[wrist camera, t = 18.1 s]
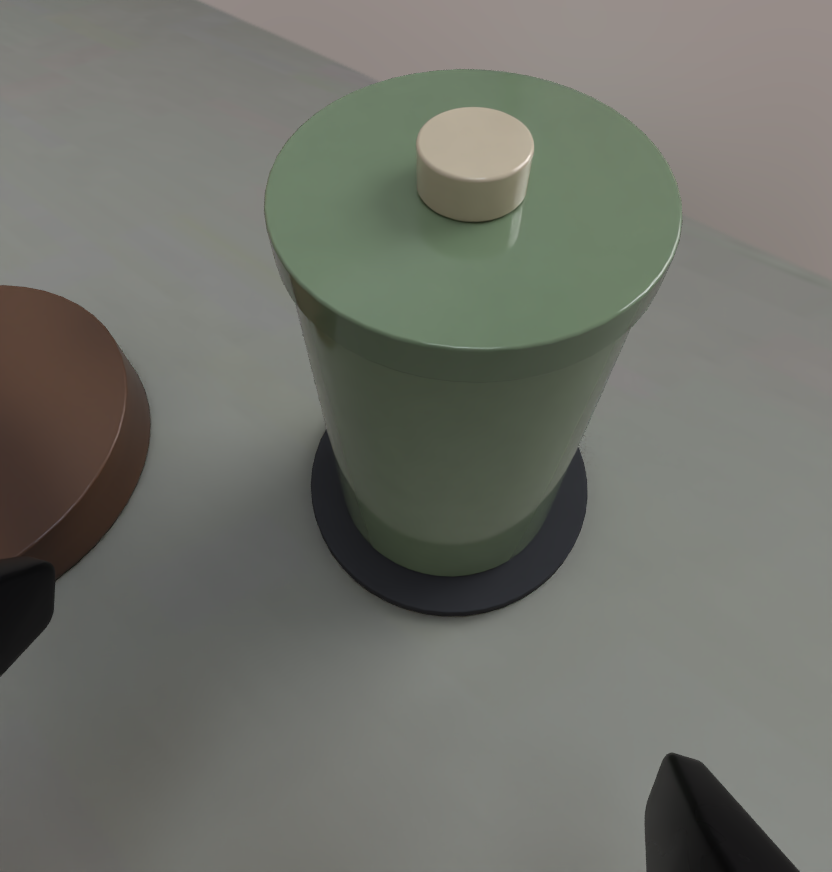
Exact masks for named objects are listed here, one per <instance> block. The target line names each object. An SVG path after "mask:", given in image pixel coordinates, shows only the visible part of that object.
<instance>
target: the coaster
mask: <svg viewBox="0 0 832 872" xmlns="http://www.w3.org/2000/svg"><path fill="white" fill-rule="evenodd" d="M311 494H312V504H313V509H314V513H315V518H316V521H317V523H318V526H319V529H320V531H321V534H322V537H323V539H324V541H325V543H326V544H327V546H328V548H329V550H330V552H331V553H332V555H333V556H334V557H335V559H336V560H337V561H338V563H339V564H340V565H341V567H342V568H343V569H344V570H345V571H346V572H347V573H348V574H349V575H350V576H351V577H352V578H353V579H354V580H355V581H356V582H358V583H359V584H360V585H362V586H363V587H364V588H366V589H367V590H368V591H370V592H371V593H373V594H375V595H376V596H378V597H380V598H382V599H384V600H385V601H387V602H389V603H392V604H395V605H397V606H400V607H402V608H405V609H408V610H412V611H416V612H420V613H424V614H431V615H440V616H466V615H472V614H479V613H485V612H488V611H492V610H495V609H498V608H502V607H504V606H507V605H509V604H511V603H513V602H516V601H518V600H520V599H522V598H523V597H525V596H527V595H528V594H530V593H531V592H533V591H534V590H536V589H537V588H538V587H540V586H541V585H542V584H543V583H544V582H546V581H547V580H548V579H549V578H550V577H551V576H552V575H553V574H554V573H555V572H556V570H557V569H558V568H559V567H560V566H561V565H562V563H563V562H564V560H565V559H566V557H567V556H568V554H569V553H570V551H571V549H572V548H573V546H574V544H575V542H576V540H577V537H578V535H579V533H580V531H581V528H582V524H583V520H584V517H585V513H586V504H587V478H586V472H585V466H584V462H583V459H582V456H581V453H580V450H579V448H577V450H576V453H575V455H574V457H573V459H572V462H571V464H570V466H569V468H568V471H567V473H566V475H565V477H564V480H563V482H562V484H561V486H560V489H559V491H558V493H557V495H556V498H555V500H554V502H553V504H552V507H551V509H550V511H549V513H548V516H547V518H546V520H545V522H544V524H543V525H542V527H541V529H540V531H539V532H538V534H537V535H536V536H535V537H534V539H533V540H532V541H531V543H530V544H528V545H527V546H526V547H525V548H524V549H523V550H522V551H521V552H520V553H519V554H517V555H516V556H514V557H513V558H512V559H510V560H509V561H507V562H505V563H503V564H501V565H499V566H497V567H495V568H492V569H489V570H487V571H484V572H480V573H476V574H471V575H465V576H454V577H452V576H435V575H429V574H423V573H420V572H417V571H413V570H410V569H407V568H405V567H403V566H401V565H399V564H396V563H394V562H393V561H391V560H390V559H388V558H386V557H385V556H383V555H382V554H381V553H379V552H378V551H377V550H376V549H375V548H373V547H372V546H371V545H370V544H369V543H368V542H367V540H366V539H365V538H364V537H363V536H362V535H361V533H360V532H359V530H358V529H357V528H356V526H355V525H354V523H353V521H352V519H351V517H350V515H349V512H348V510H347V507H346V504H345V500H344V496H343V492H342V488H341V484H340V481H339V477H338V473H337V469H336V465H335V461H334V457H333V453H332V449H331V445H330V441H329V437H328V433H327V429H326V431H325V433H324V435H323V437H322V438H321V441H320V443H319V446H318V449H317V451H316V454H315V459H314V463H313V468H312V478H311Z"/></svg>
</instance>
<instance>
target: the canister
mask: <svg viewBox="0 0 832 872" xmlns="http://www.w3.org/2000/svg"><path fill="white" fill-rule="evenodd" d="M264 215H265V222H266V229H267V233H268V237H269V240H270V244H271V248H272V252H273V255H274V259H275V263H276V266H277V268H278V271H279V274H280V277H281V280H282V282H283V284H284V286H285V288H286V289H287V291H288V293H289V295H290V296H291V298H292V300H293V301H294V302H295V305H296V309H297V313H298V317H299V321H300V325H301V329H302V333H303V337H304V341H305V345H306V349H307V353H308V357H309V361H310V365H311V369H312V373H313V377H314V381H315V385H316V389H317V393H318V397H319V401H320V405H321V409H322V413H323V417H324V421H325V425H326V429H327V433H328V437H329V441H330V445H331V449H332V453H333V457H334V461H335V465H336V469H337V473H338V477H339V481H340V484H341V488H342V492H343V496H344V500H345V504H346V507H347V510H348V512H349V515H350V517H351V519H352V521H353V523H354V525H355V526H356V528H357V529H358V530H359V532H360V533H361V535H362V536H363V537H364V538H365V539H366V540H367V542H368V543H369V544H370V545H371V546H372V547H373V548H375V549H376V550H377V551H378V552H379V553H381V554H382V555H383V556H385V557H386V558H388V559H390V560H391V561H393V562H394V563H396V564H399V565H401V566H403V567H405V568H407V569H410V570H413V571H417V572H420V573H423V574H429V575H435V576H452V577H454V576H465V575H471V574H476V573H480V572H484V571H487V570H489V569H492V568H495V567H497V566H499V565H501V564H503V563H505V562H507V561H509V560H510V559H512V558H513V557H514V556H516V555H517V554H519V553H520V552H521V551H522V550H523V549H524V548H525V547H526V546H527V545H528V544H530V543H531V541H532V540H533V539H534V537H535V536H536V535H537V534H538V532H539V531H540V529H541V527H542V525H543V524H544V522H545V520H546V518H547V516H548V513H549V511H550V509H551V507H552V504H553V502H554V500H555V498H556V495H557V493H558V491H559V489H560V486H561V484H562V482H563V480H564V477H565V475H566V473H567V471H568V468H569V466H570V464H571V462H572V459H573V457H574V455H575V453H576V450H577V448H578V446H579V444H580V441H581V439H582V437H583V435H584V432H585V430H586V428H587V426H588V424H589V421H590V419H591V417H592V415H593V412H594V410H595V408H596V406H597V403H598V401H599V399H600V397H601V394H602V392H603V390H604V388H605V385H606V383H607V381H608V379H609V376H610V374H611V372H612V370H613V367H614V365H615V363H616V361H617V358H618V356H619V354H620V352H621V349H622V347H623V345H624V343H625V340H626V338H627V336H628V334H629V331H630V329H631V327H633V326H634V324H635V323H636V322H637V321H638V320H639V319H640V317H641V316H642V315H643V314H644V313H645V311H646V310H647V309H648V307H649V306H650V304H651V302H652V301H653V299H654V297H655V295H656V294H657V292H658V290H659V288H660V286H661V284H662V282H663V279H664V277H665V275H666V273H667V271H668V269H669V267H670V264H671V262H672V260H673V258H674V255H675V252H676V249H677V246H678V244H679V241H680V235H681V228H682V204H681V197H680V194H679V190H678V185H677V182H676V180H675V177H674V175H673V173H672V171H671V169H670V167H669V164H668V163H667V161H666V160H665V158H664V157H663V155H662V154H661V152H660V151H659V149H658V148H657V147H656V146H655V145H654V143H653V142H652V141H651V140H650V139H649V138H648V137H647V136H646V134H644V133H643V132H642V131H641V130H640V129H639V128H638V127H637V126H635V125H634V124H633V123H632V122H631V121H630V120H628V119H627V118H625V117H624V116H622V115H621V114H620V113H618V112H617V111H615V110H614V109H612V108H611V107H609V106H607V105H605V104H603V103H602V102H600V101H598V100H596V99H594V98H593V97H591V96H588V95H586V94H583V93H581V92H579V91H577V90H574V89H572V88H569V87H566V86H563V85H560V84H557V83H554V82H551V81H548V80H544V79H540V78H536V77H532V76H527V75H521V74H516V73H509V72H503V71H491V70H474V69H473V70H472V69H470V70H469V69H455V70H437V71H429V72H422V73H414V74H409V75H406V76H400V77H395V78H391V79H388V80H385V81H381V82H378V83H375V84H371V85H369V86H366V87H364V88H361V89H359V90H356V91H354V92H351V93H349V94H347V95H346V96H344V97H342V98H340V99H338V100H336V101H334V102H332V103H331V104H329V105H328V106H326V107H325V108H323V109H322V110H320V111H319V112H317V113H316V114H314V115H313V116H312V117H311V118H310V119H308V120H307V121H306V122H305V123H304V124H303V125H301V126H300V127H299V128H298V129H297V131H296V132H295V133H294V134H293V135H292V136H291V137H290V138H289V139H288V141H287V142H286V143H285V145H284V146H283V148H282V150H281V151H280V153H279V154H278V156H277V157H276V160H275V162H274V164H273V166H272V169H271V171H270V173H269V177H268V181H267V185H266V190H265V198H264Z"/></svg>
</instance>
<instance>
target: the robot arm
mask: <svg viewBox="0 0 832 872" xmlns="http://www.w3.org/2000/svg"><path fill="white" fill-rule="evenodd" d="M54 594H55V568H54V566H53V565H52V564H51V563H50V562H48V561H45V560H41V559H38V558H35V557H31V556H18V557H12V558H5V559H0V677H1V676H2V674H3V673H4V672H5V671H6V670H7V669H8V668H9V667H10V666H11V665H12V664H13V663H14V662H15V661H16V659H17V658H18V657H19V656H20V655H21V654H22V653H23V652H24V651H25V650H26V649H27V648H28V647H29V645H30V644H31V643H32V642H33V641H34V640H35V639H36V638H37V637H38V636H39V635H40V634H41V633H42V632H43V630H44V629H45V628H46V627H47V625H48V624H49V622H50V620H51V618H52V615H53V611H54ZM645 844H646V871H647V872H800V871H799V870H798V869H797V868H796V867H795V866H794V865H793V863H792V862H791V861H790V860H789V859H788V858H787V857H786V856H785V855H784V853H783V852H782V851H781V850H780V849H779V848H778V847H777V846H776V844H775V843H774V842H773V841H772V840H771V839H770V838H769V837H768V836H767V834H766V833H765V832H764V831H763V830H762V829H761V828H760V827H759V825H758V824H757V823H756V822H755V821H754V820H753V819H752V818H751V816H750V815H749V814H748V813H747V812H746V811H745V810H744V809H743V808H742V806H741V805H740V804H739V803H738V802H737V801H736V800H735V799H734V797H733V796H732V795H731V794H730V793H729V792H728V791H727V790H726V789H725V787H724V786H723V785H722V784H721V783H720V782H719V781H718V780H717V778H716V777H715V776H714V775H713V774H712V773H711V772H710V771H709V770H708V768H707V767H706V766H705V765H704V764H703V763H702V762H700V761H698V760H695V759H692V758H689V757H685V756H682V755H679V754H675V753H669V754H667V755H666V756H665V757H664V759H663V761H662V763H661V766H660V769H659V771H658V774H657V777H656V779H655V782H654V785H653V787H652V790H651V793H650V795H649V798H648V801H647V805H646V810H645Z"/></svg>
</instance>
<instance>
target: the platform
mask: <svg viewBox="0 0 832 872" xmlns="http://www.w3.org/2000/svg"><path fill="white" fill-rule="evenodd" d="M150 425H151V424H150V412H149V404H148V401H147V397H146V393H145V389H144V387H143V385H142V383H141V381H140V379H139V376H138V375H137V373H136V372H135V370H134V368H133V367H132V365H131V364H130V362H129V361H128V359H127V358H126V356H125V355H124V353H123V352H122V350H121V349H120V347H119V346H118V344H117V343H116V341H115V340H114V338H113V337H112V336H111V334H110V333H109V331H108V330H107V328H106V327H105V326H104V325H103V324H102V323H101V322H100V321H99V320H98V319H97V318H96V317H95V316H94V315H93V314H91V313H90V312H88V311H87V310H85V309H84V308H83V307H81V306H80V305H78V304H76V303H74V302H72V301H70V300H68V299H66V298H64V297H61V296H58V295H55V294H52V293H49V292H46V291H42V290H37V289H32V288H27V287H18V286H6V285H0V559H5V558H12V557H18V556H31V557H35V558H38V559H41V560H45V561H48V562H50V563H51V564H52V565H53V566H54V568H55V580H56V579H57V578H58V577H59V576H61V575H62V574H63V573H65V572H66V571H67V570H68V569H70V568H71V567H72V566H74V565H75V564H76V563H77V562H78V561H79V560H80V559H81V558H82V557H83V556H84V555H85V554H86V553H87V552H89V551H90V550H91V549H92V548H93V547H94V546H95V545H96V544H97V542H98V541H99V540H100V539H101V538H102V537H103V535H104V534H105V533H106V532H107V531H108V529H109V528H110V527H111V526H112V525H113V523H114V522H115V520H116V519H117V517H118V516H119V514H120V513H121V511H122V510H123V509H124V507H125V506H126V504H127V502H128V500H129V498H130V496H131V494H132V492H133V491H134V489H135V487H136V485H137V483H138V480H139V477H140V475H141V472H142V469H143V467H144V464H145V459H146V455H147V451H148V446H149V438H150Z"/></svg>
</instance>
